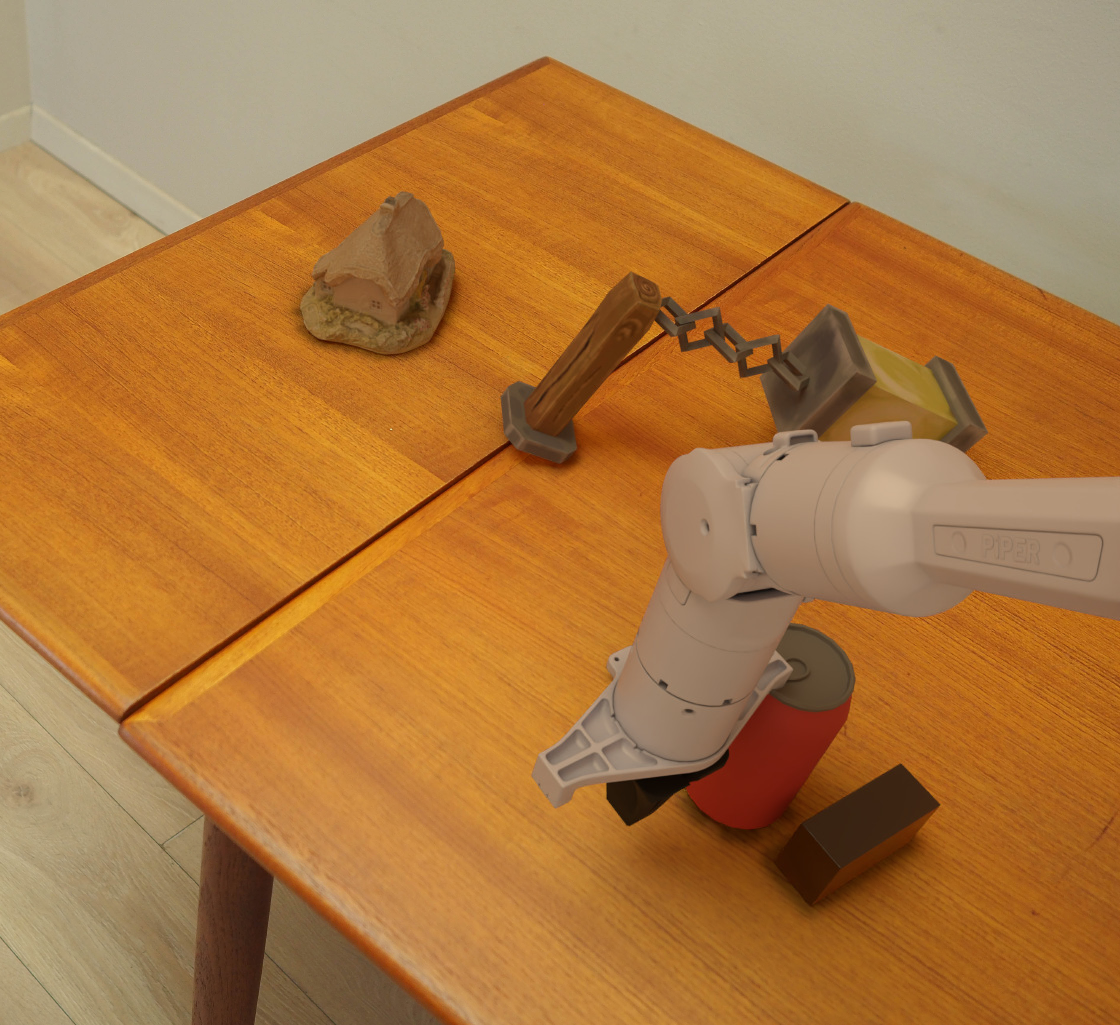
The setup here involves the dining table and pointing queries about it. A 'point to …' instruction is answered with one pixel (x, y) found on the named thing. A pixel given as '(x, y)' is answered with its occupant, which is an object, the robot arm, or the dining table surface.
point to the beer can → (782, 735)
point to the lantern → (788, 379)
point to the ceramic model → (383, 281)
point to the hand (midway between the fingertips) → (626, 806)
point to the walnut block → (855, 833)
